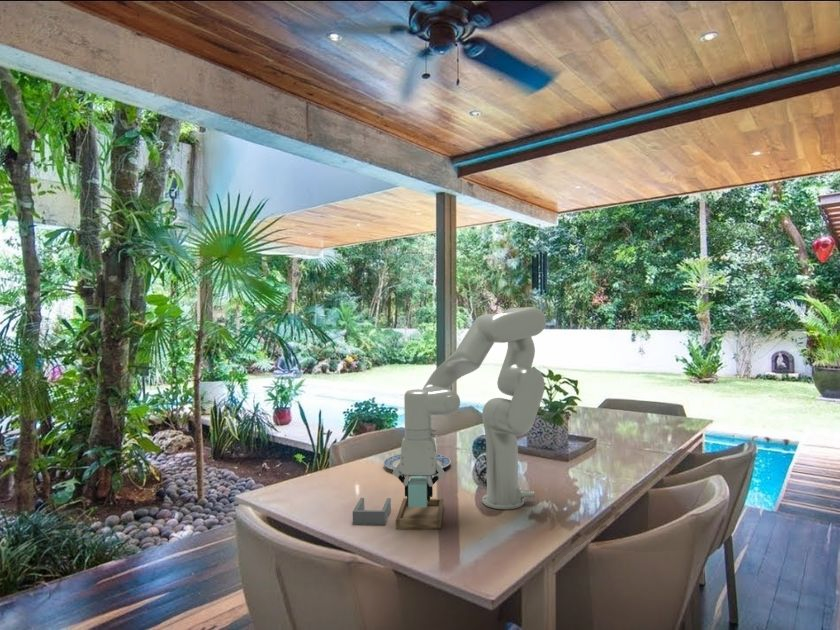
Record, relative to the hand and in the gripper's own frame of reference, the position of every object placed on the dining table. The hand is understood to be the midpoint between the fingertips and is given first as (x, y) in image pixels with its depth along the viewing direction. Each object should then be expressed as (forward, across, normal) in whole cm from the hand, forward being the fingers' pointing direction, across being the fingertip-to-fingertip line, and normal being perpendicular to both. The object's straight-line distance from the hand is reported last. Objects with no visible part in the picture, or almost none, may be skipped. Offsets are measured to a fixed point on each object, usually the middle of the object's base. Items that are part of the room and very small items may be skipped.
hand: (418, 498), depth 144 cm
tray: (+6, 0, -2) cm, 7 cm away
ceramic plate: (+6, +6, -53) cm, 53 cm away
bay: (+6, +14, -3) cm, 15 cm away
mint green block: (+1, 0, -2) cm, 2 cm away
